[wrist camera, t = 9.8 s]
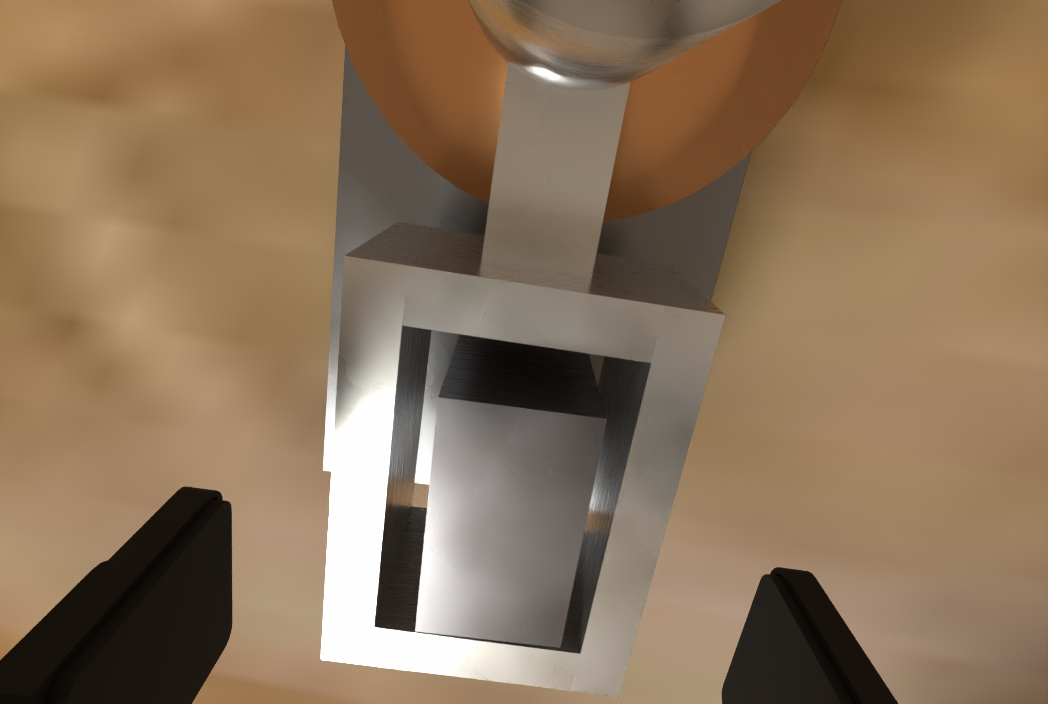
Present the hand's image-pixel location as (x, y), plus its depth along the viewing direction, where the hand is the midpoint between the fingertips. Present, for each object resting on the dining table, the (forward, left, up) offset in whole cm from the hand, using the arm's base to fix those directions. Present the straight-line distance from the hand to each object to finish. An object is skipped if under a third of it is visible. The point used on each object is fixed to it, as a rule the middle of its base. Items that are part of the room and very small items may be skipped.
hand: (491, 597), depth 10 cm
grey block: (0, 0, -12) cm, 12 cm away
